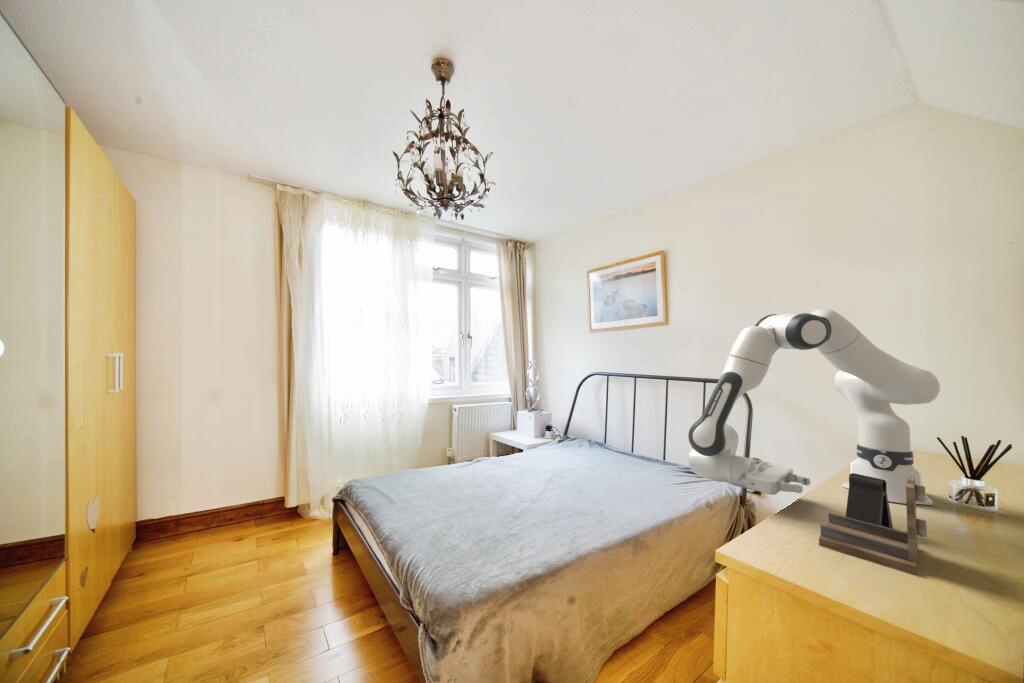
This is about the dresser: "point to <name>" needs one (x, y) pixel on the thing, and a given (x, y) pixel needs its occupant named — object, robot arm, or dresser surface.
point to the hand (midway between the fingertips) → (806, 485)
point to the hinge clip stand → (879, 535)
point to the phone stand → (868, 500)
